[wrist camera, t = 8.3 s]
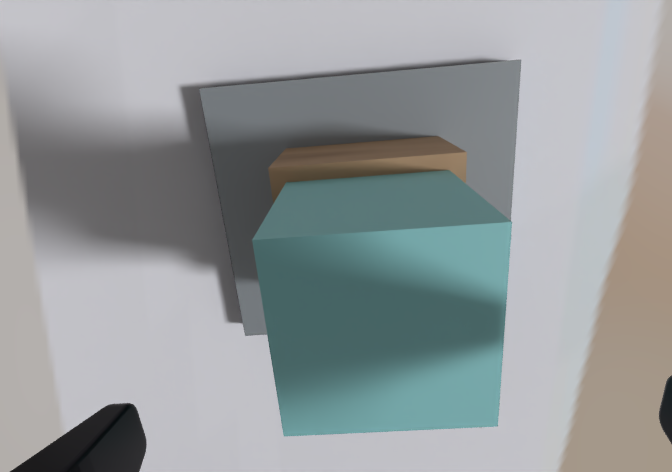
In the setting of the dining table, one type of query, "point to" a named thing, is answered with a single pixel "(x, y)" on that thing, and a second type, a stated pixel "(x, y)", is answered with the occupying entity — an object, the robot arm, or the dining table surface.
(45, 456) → the robot arm
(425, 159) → the walnut base block
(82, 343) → the dining table surface
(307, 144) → the slate board
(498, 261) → the teal cube
